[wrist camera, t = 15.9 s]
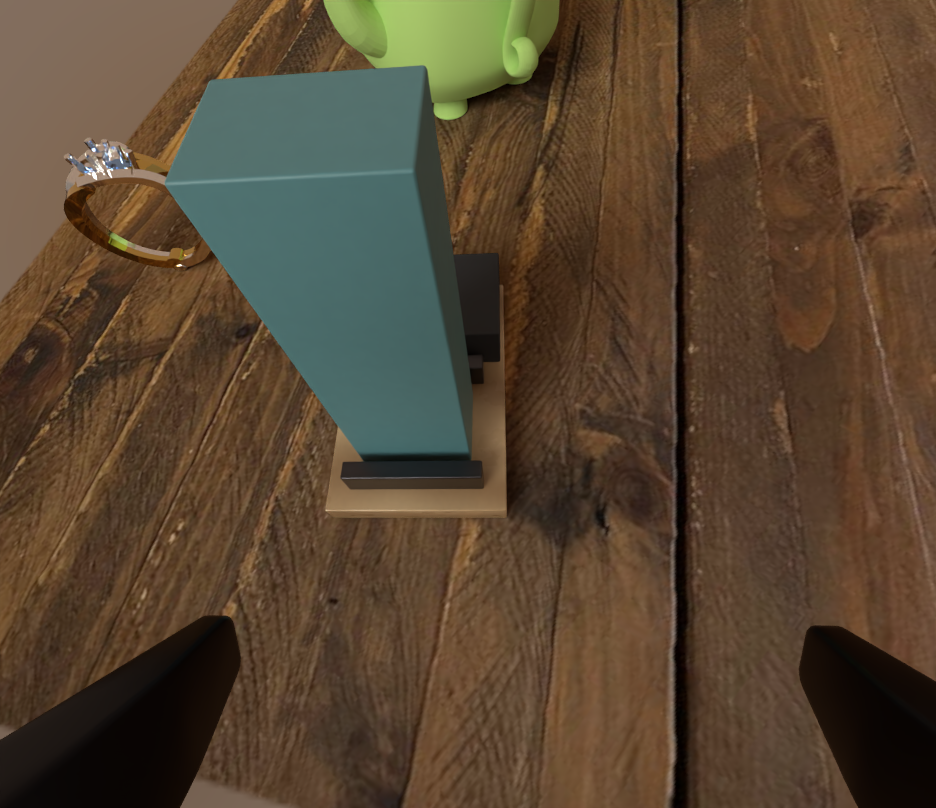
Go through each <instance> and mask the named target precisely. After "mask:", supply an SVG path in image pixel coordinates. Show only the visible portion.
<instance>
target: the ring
mask: <svg viewBox="0 0 936 808" xmlns="http://www.w3.org/2000/svg"><path fill="white" fill-rule="evenodd" d="M101 142H102V143H100V144H98V145H97V144H96V143H95V142H94V140H93V139H91V138H87V139H86V140H85V141H84V143H85V144H86V145H87V146H88V147H89V150H87V151H86V152H85V153H84V154H83V155H82V156H81V157H80V158H79V159H78V160H77V159H76V158H75V157H74V156H72V155H71V154H70V153H69V154H66V155H64V159H65V160H66V161H67V162H69V163H70V164H71V165H72V166H73V167H72V168H71V171H70V173H69V175H68V178H67V181H66V193H67V195H66V199H65V203H64V211H65V214H66V216H67V218H68V219H69V221H70V222H71V223H72V224H73V226H74V227H75V228H76V229H78V230H79V231H80V232H81V233H82V234H83V235H85V236H86V237H87V238H89V239H90V240H92V241H93V242H95V243H96V244H98V245H100V246H101V247H103V248H105V249H107V250H109V251H111V252H113V253H115V254H117V255H119V256H122V257H124V258H127V259H129V260H132V261H135V262H139V263H142V264H146V265H151V266H156V267H165V268H174V269H175V270H178V271H183V270H186V269H187V267H188V266H192V265H195V264H197V263H199V262H201V261H202V260H204V259H205V258H206V257H207V255H208V254H209V252H210V250H211V249H210V247H209V246H208V245H207V243H206V242H205V240H204V239H203V238H202V239H201V241H200V242H199V243H198V244H197V245H196V246H194V247H193V248H191V249H188V250H183V249H181V248H173V249H171V251H170V252H162V251H156V250H151V249H147V248H144V247H141V246H138V245H136V244H133V243H131V242H129V241H127V240H125V239H123V238H121V237H119V236H118V235H116V234H115V233H113V232H112V231H110V230H109V229H108V228H106V227H105V226H104V225H103V224H102V223H101V222H100V221H99V220H98V219H97V218H96V217H95V215H94V214H93V213H92V211H91V210H90V208H89V206H88V204H87V202H86V201H87V200H88V199H89V198H90V197H91V196H92V195H93V194H95V190H96V187H100V186H105V185H112V184H124V183H132V184H142V185H146V186H150V187H153V188H156V189H158V190H160V191H162V192H164V193H166V194H168V195H169V196H171V197H172V198H174V197H173V196H172V195H171V193H170V192H169V190H168V189H167V188H166V186H165V179H166V177H167V175H168V172H169V170H170V168H171V166H169V165H167V164H165V163H163V162H161V161H159V160H157V159H154V158H152V157H149V156H146V155H143V154H139V153H135V152H133V151H132V150H130V149H129V148H128V147H127V146H126V145H124V144H122V143H119V142H108V140H107V139H103V140H101Z"/></svg>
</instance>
